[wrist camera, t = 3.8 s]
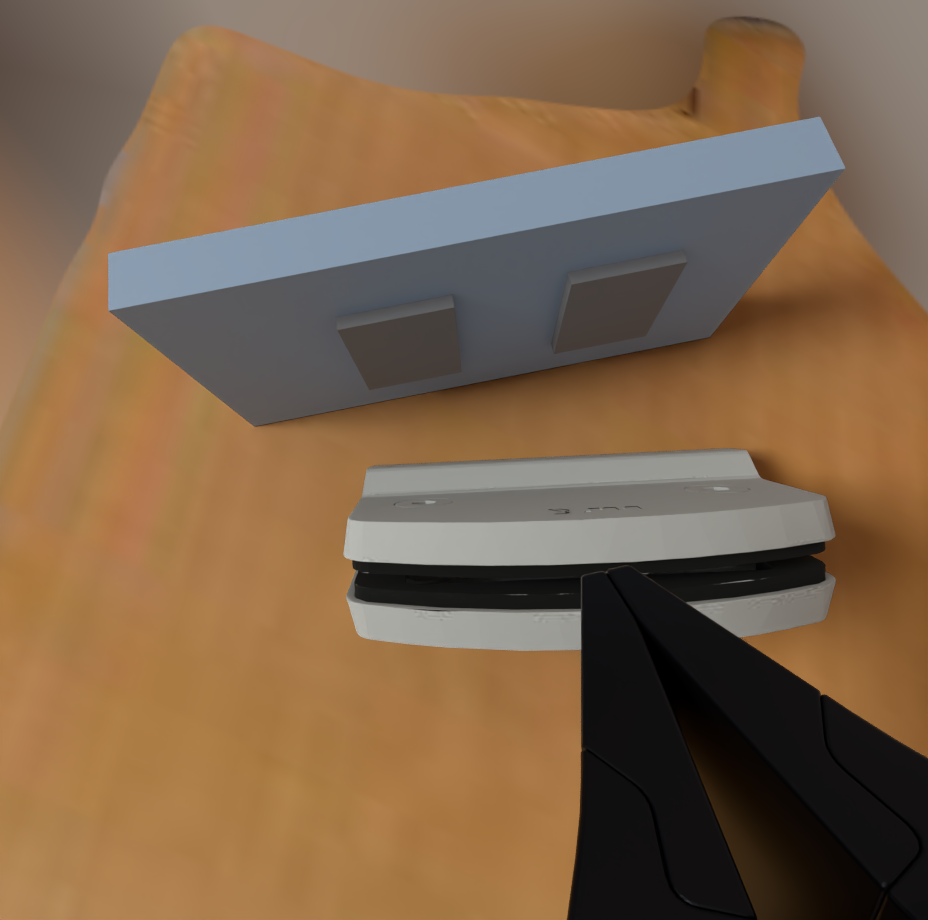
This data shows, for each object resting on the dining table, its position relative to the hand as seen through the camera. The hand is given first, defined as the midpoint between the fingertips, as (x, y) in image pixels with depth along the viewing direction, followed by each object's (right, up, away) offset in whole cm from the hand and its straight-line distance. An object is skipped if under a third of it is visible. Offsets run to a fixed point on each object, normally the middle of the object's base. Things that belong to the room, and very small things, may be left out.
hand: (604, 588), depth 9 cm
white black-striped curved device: (+2, -1, +14) cm, 14 cm away
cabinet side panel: (-2, +7, +16) cm, 18 cm away
